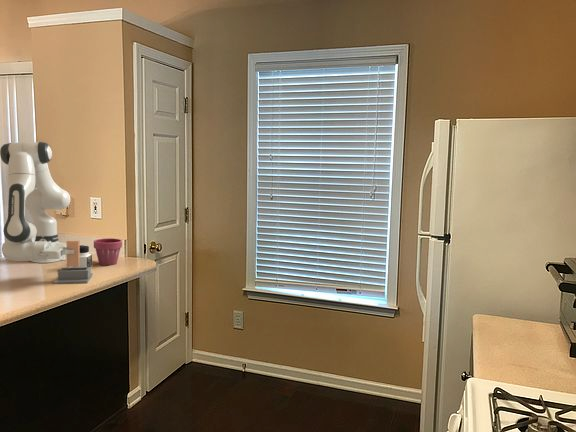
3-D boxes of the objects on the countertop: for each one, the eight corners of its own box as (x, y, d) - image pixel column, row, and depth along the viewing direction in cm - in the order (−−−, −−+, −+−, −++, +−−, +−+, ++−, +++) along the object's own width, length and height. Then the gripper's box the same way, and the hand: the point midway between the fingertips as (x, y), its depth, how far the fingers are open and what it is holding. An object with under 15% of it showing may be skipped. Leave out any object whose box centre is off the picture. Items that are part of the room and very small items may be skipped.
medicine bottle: (87, 270, 232) (86, 247, 230) (72, 270, 231) (72, 246, 230) (92, 267, 239) (91, 244, 237) (78, 266, 238) (77, 244, 237)
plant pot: (123, 260, 256) (123, 237, 254) (121, 266, 243) (121, 242, 241) (95, 260, 252) (95, 238, 250) (92, 267, 239) (91, 243, 237)
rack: (61, 275, 220) (61, 265, 219) (92, 275, 223) (92, 265, 223) (53, 283, 206) (53, 273, 206) (87, 283, 210) (86, 272, 209)
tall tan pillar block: (68, 265, 215) (67, 239, 213) (79, 264, 216) (79, 239, 214) (66, 266, 212) (66, 241, 210) (78, 266, 213) (78, 241, 211)
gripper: (35, 248, 199) (70, 248, 203) (48, 240, 219) (79, 240, 222) (36, 262, 200) (70, 262, 203) (48, 253, 220) (79, 252, 223)
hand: (75, 250), depth 213 cm, fingers closed on tall tan pillar block, 3 cm apart
